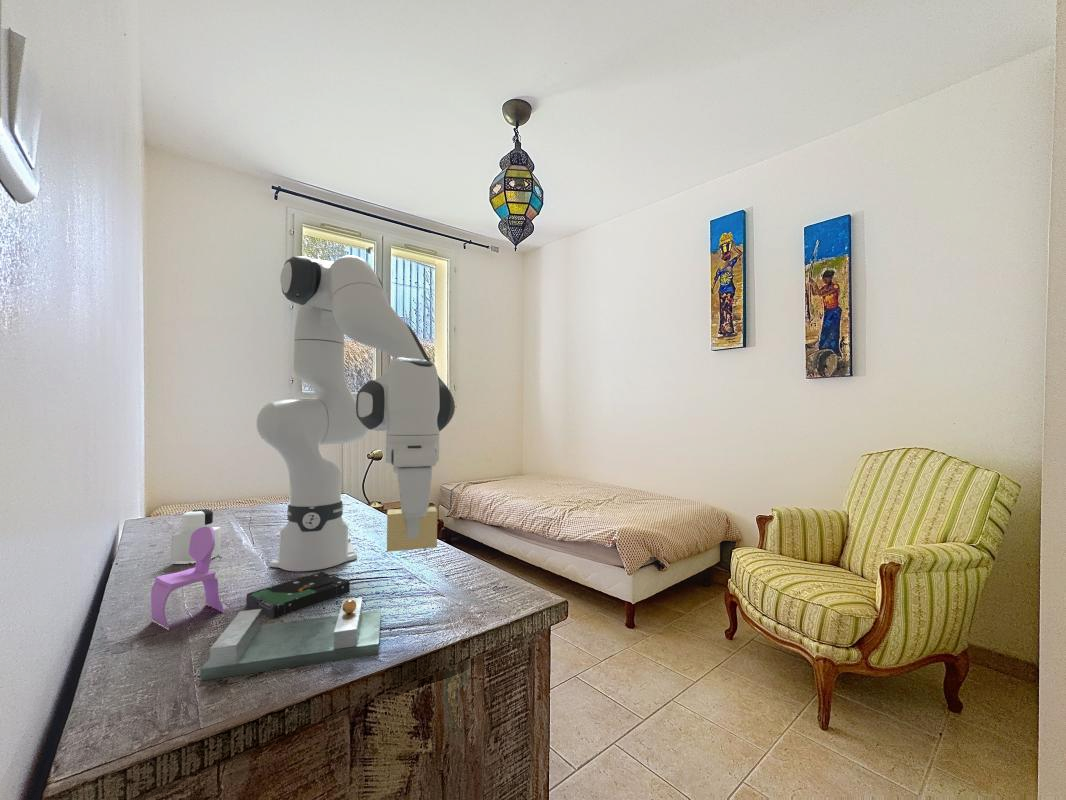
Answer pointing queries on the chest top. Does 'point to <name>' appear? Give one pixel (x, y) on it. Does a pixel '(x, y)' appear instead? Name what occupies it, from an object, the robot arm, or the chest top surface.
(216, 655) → the vise
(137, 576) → the chest top surface
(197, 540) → the toy chair
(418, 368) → the robot arm
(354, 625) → the sliding jaw
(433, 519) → the brass block
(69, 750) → the chest top surface
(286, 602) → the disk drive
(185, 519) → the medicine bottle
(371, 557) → the chest top surface
